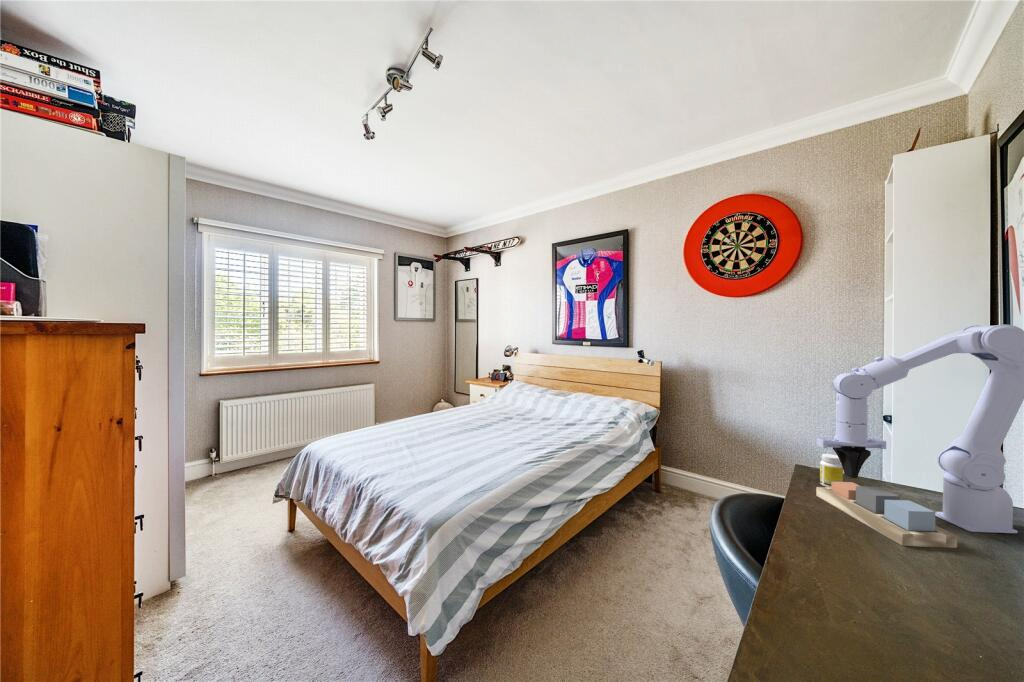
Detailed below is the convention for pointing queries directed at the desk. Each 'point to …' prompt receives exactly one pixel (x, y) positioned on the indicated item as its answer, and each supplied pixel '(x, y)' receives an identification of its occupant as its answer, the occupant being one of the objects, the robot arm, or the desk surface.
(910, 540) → the board
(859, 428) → the robot arm
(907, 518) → the light blue block
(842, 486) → the button terracotta
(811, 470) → the desk surface
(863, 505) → the grey block
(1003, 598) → the desk surface
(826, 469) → the supplement bottle
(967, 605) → the desk surface
